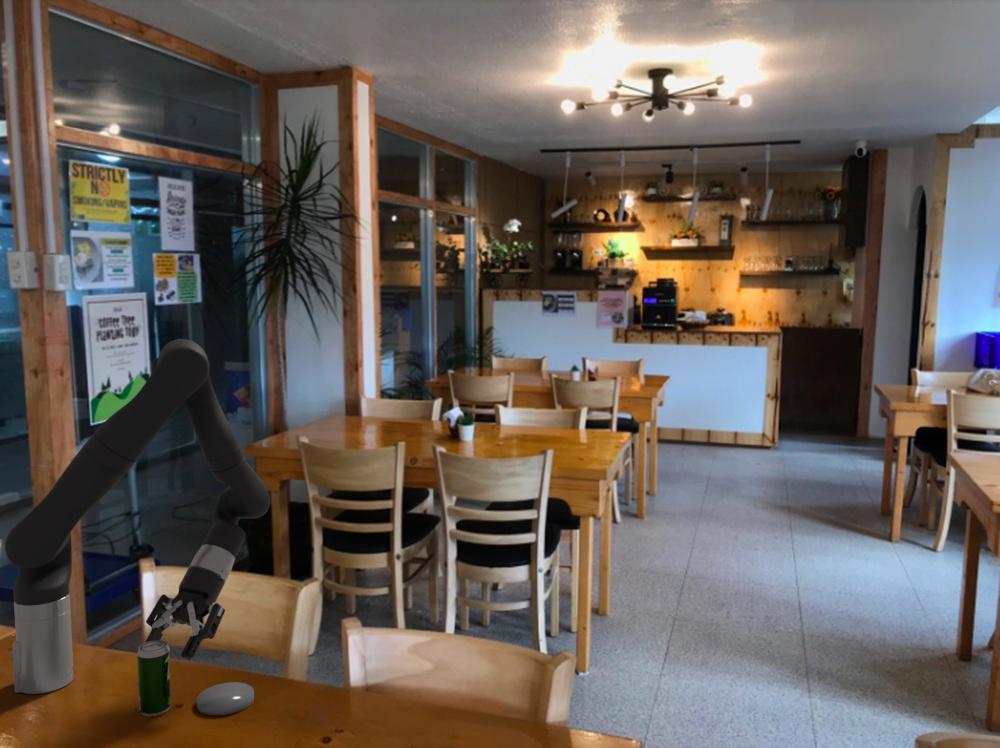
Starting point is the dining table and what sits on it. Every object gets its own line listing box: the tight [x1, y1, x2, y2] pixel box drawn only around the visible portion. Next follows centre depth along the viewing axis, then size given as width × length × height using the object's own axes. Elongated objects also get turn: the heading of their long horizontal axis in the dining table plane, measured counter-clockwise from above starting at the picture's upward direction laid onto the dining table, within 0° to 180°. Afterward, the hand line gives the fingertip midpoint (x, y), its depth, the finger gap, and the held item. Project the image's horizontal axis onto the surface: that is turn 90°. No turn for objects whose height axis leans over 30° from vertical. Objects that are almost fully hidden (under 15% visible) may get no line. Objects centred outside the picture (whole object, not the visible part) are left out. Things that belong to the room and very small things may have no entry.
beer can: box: [136, 639, 172, 717], centre depth 141 cm, size 5×5×12 cm
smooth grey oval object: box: [196, 681, 255, 716], centre depth 144 cm, size 10×10×1 cm
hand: (166, 654), depth 143 cm, fingers open, 8 cm apart
